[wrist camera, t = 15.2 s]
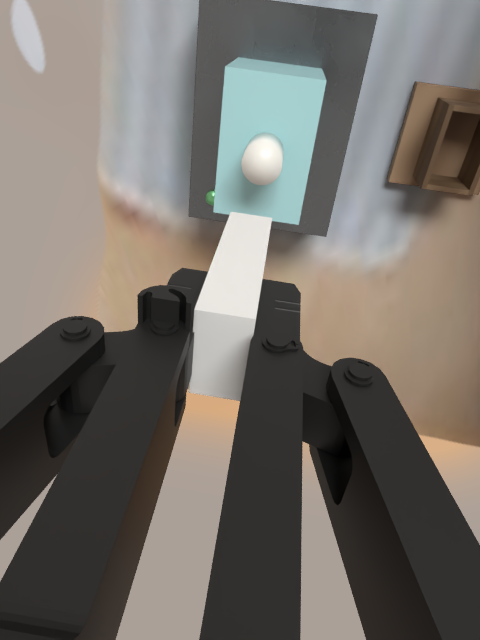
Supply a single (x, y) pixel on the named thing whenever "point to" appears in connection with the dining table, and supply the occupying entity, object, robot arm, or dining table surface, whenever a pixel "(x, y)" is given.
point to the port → (290, 48)
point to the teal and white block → (267, 138)
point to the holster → (440, 140)
